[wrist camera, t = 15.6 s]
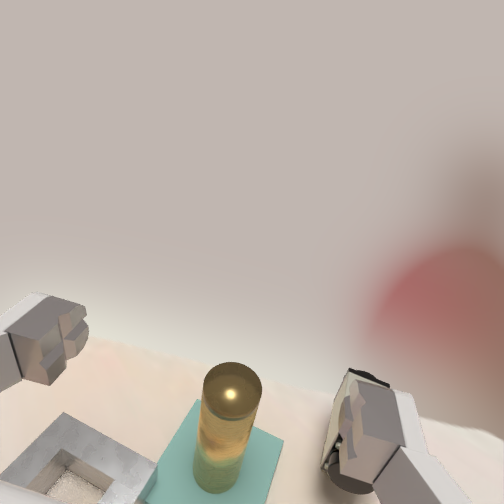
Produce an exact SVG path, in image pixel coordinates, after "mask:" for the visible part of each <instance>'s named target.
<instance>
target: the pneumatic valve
mask: <svg viewBox="0 0 504 504" xmlns="http://www.w3.org/2000/svg"><path fill="white" fill-rule="evenodd" d="M355 379H357V380H360V381H364V382H368V383H372V384H376V385H380V386H383V387H387V388H390V385H389V384H388V383H385V382H383V381H380V380H378V379H376V378H375V377H374V376H373V375H371V374H370V373H368V372H365V371H360V370H354V369H351V368H349V369H348V371H347V373H346V375H345V376H344V379H343V382H342V384H341V386H340V389H339V390H338V392H337V395H336V397H335V399H334V403H333V408H332V413H331V418H330V423H329V429H328V434H327V439H326V441H325V446H324V451H323V456H322V461H321V469H322V471H324V472H327V475H328V477H329V478H330V479H331V480H332V481H333V482H334V483H335V484H336V485H337V486H338V487H340V488H342V489H343V490H346V491H348V492H351V493H354V494H369V493H371V492H373V491H374V489H373V487H372V485H373V484H370V483H367V482H364V481H361V480H358V479H355V478H352V477H349V476H346V475H343V474H340V459H339V447H340V445H341V443H342V441H343V438H342V437H341V435H340V433H339V432H338V419H339V412H340V407H341V404H342V402H343V399H344V397H346V396H349V395H350V391H349V387H350V385H351V383H352V381H353V380H355Z"/></svg>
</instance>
